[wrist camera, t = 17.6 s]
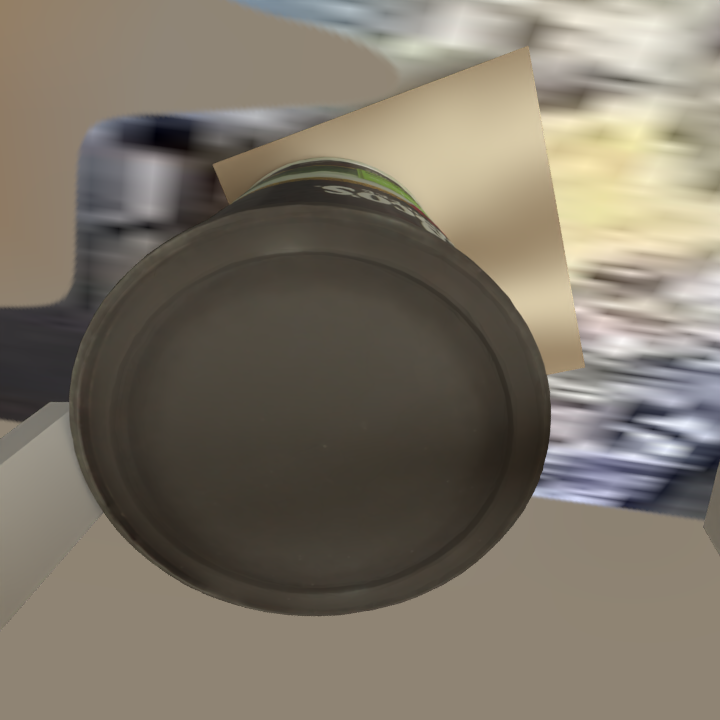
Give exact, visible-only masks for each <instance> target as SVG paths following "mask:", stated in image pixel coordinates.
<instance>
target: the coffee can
mask: <svg viewBox="0 0 720 720" xmlns="http://www.w3.org/2000/svg"><path fill="white" fill-rule="evenodd" d="M69 421H70V429H71V434H72V439H73V444H74V450H75V453H76V457H77V460H78V463H79V466H80V470H81V472H82V474H83V477H84V479H85V481H86V483H87V485H88V487H89V489H90V491H91V493H92V495H93V496H94V498H95V500H96V501H97V503H98V505H99V506H100V508H101V509H102V511H103V512H104V513H105V515H106V516H107V518H108V519H109V521H110V522H111V523H112V524H113V526H114V527H115V528H116V530H117V531H118V532H119V533H120V534H121V535H122V536H123V537H124V538H125V539H126V540H127V541H128V542H129V543H130V544H131V545H132V546H133V547H134V548H135V549H136V550H137V551H138V552H139V553H141V554H142V555H143V556H145V557H146V558H147V559H148V560H149V561H150V562H152V563H153V564H155V565H156V566H158V567H159V568H160V569H162V570H163V571H164V572H166V573H167V574H168V575H170V576H172V577H174V578H175V579H177V580H179V581H180V582H181V583H183V584H185V585H187V586H189V587H191V588H193V589H195V590H198V591H200V592H202V593H203V594H206V595H209V596H211V597H214V598H216V599H219V600H222V601H225V602H228V603H231V604H235V605H238V606H242V607H245V608H249V609H254V610H258V611H263V612H269V613H277V614H284V615H298V616H328V615H329V616H331V615H344V614H351V613H357V612H362V611H370V610H375V609H378V608H383V607H387V606H390V605H395V604H398V603H402V602H405V601H407V600H410V599H413V598H415V597H418V596H420V595H422V594H425V593H427V592H429V591H431V590H433V589H435V588H437V587H439V586H442V585H444V584H445V583H447V582H448V581H450V580H452V579H453V578H455V577H457V576H458V575H460V574H461V573H463V572H464V571H466V570H467V569H468V568H469V567H471V566H472V565H473V564H475V563H476V562H477V561H478V560H479V559H481V558H482V557H483V556H484V555H485V554H486V553H487V552H488V551H489V550H490V549H491V548H493V547H494V546H495V544H496V543H498V541H500V540H501V538H502V537H503V536H504V535H505V534H506V533H507V531H509V529H510V528H511V527H512V526H513V525H514V523H515V522H516V520H517V519H518V518H519V516H520V515H521V514H522V512H523V511H524V509H525V507H526V505H527V503H528V502H529V500H530V498H531V496H532V495H533V493H534V491H535V488H536V486H537V484H538V482H539V479H540V475H541V473H542V471H543V465H544V462H545V458H546V454H547V450H548V444H549V436H550V425H551V403H550V390H549V384H548V379H547V374H546V370H545V365H544V362H543V359H542V356H541V353H540V351H539V348H538V346H537V344H536V342H535V339H534V337H533V335H532V333H531V331H530V329H529V327H528V325H527V324H526V322H525V321H524V319H523V317H522V316H521V314H520V313H519V312H518V310H517V309H516V308H515V306H514V305H513V303H512V301H511V300H510V298H509V297H508V296H507V295H506V293H505V292H504V291H503V290H502V289H501V288H500V287H499V286H498V285H497V284H496V283H495V281H494V280H493V279H492V278H491V277H490V276H489V275H488V274H487V273H486V272H484V271H483V270H482V269H481V268H480V267H479V266H478V265H477V264H476V263H475V262H474V261H472V260H471V259H470V258H469V257H468V256H466V255H465V254H464V253H462V252H461V251H459V250H458V249H456V247H455V246H454V245H453V244H452V243H451V242H450V240H449V239H448V238H447V237H446V235H445V234H444V233H443V232H442V231H441V230H440V229H439V228H438V227H437V226H436V225H435V223H434V222H433V221H432V220H431V219H430V218H429V217H428V215H427V214H426V213H425V211H424V210H423V208H422V206H421V205H420V204H419V202H418V201H417V200H416V198H415V197H414V196H413V195H412V193H411V192H410V191H409V190H408V189H407V188H405V187H404V186H403V185H402V184H401V183H400V182H398V181H397V180H396V179H394V178H393V177H392V176H390V175H388V174H386V173H385V172H383V171H381V170H379V169H377V168H375V167H372V166H370V165H367V164H365V163H362V162H358V161H355V160H350V159H344V158H334V157H318V158H310V159H305V160H300V161H296V162H293V163H289V164H287V165H285V166H283V167H280V168H278V169H276V170H274V171H272V172H271V173H269V174H267V175H266V176H264V177H263V178H261V179H260V180H259V181H258V182H256V183H255V184H254V185H253V186H252V187H251V188H250V189H249V190H248V191H247V192H245V193H244V194H242V195H241V196H240V197H239V198H238V199H237V200H235V201H234V202H232V203H231V204H230V205H228V206H227V207H225V208H224V209H222V210H221V211H220V212H218V213H217V214H215V215H214V216H212V217H211V218H210V219H208V220H207V221H205V222H202V223H200V224H198V225H196V226H194V227H191V228H190V229H188V230H186V231H184V232H182V233H180V234H178V235H177V236H175V237H173V238H172V239H170V240H168V241H167V242H165V243H164V244H162V245H161V246H159V247H158V248H156V249H155V250H153V251H152V252H150V253H149V254H147V255H146V256H145V257H144V258H143V259H142V260H141V261H140V262H139V263H138V264H136V265H135V266H134V267H133V268H132V269H131V270H130V271H129V272H128V273H127V274H126V275H125V276H124V277H123V278H122V279H121V280H120V281H119V282H118V283H117V285H116V286H115V287H114V288H113V289H112V290H111V292H110V293H109V294H108V295H107V296H106V298H105V299H104V300H103V302H102V304H101V305H100V307H99V308H98V310H97V311H96V313H95V315H94V316H93V318H92V320H91V322H90V324H89V326H88V328H87V330H86V332H85V334H84V337H83V339H82V341H81V343H80V346H79V349H78V353H77V356H76V359H75V363H74V367H73V371H72V378H71V385H70V393H69Z"/></svg>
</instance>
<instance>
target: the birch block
mask: <svg viewBox="0 0 720 720" xmlns="http://www.w3.org/2000/svg"><path fill="white" fill-rule="evenodd" d="M318 157H334V158H344V159H350V160H355V161H358V162H362V163H365V164H367V165H370V166H372V167H375V168H377V169H379V170H381V171H383V172H385V173H386V174H388V175H390V176H392V177H393V178H394V179H396V180H397V181H398V182H400V183H401V184H402V185H403V186H404V187H405V188H407V189H408V190H409V191H410V192H411V193H412V195H413V196H414V197H415V198H416V200H417V201H418V202H419V204H420V205H421V206H422V208H423V210H424V211H425V213H426V214H427V215H428V217H429V218H430V219H431V220H432V221H433V222H434V223H435V225H436V226H437V227H438V228H439V229H440V230H441V231H442V232H443V233H444V234H445V235H446V237H447V238H448V239H449V240H450V242H451V243H452V244H453V245H454V246H455V247H456V249H458V250H459V251H461V252H462V253H464V254H465V255H466V256H468V257H469V258H470V259H471V260H472V261H474V262H475V263H476V264H477V265H478V266H479V267H480V268H481V269H482V270H483V271H484V272H486V273H487V274H488V275H489V276H490V277H491V278H492V279H493V280H494V281H495V283H496V284H497V285H498V286H499V287H500V288H501V289H502V290H503V291H504V292H505V293H506V295H507V296H508V297H509V298H510V300H511V301H512V303H513V305H514V306H515V308H516V309H517V310H518V312H519V313H520V314H521V316H522V317H523V319H524V321H525V322H526V324H527V325H528V327H529V329H530V331H531V333H532V335H533V337H534V339H535V342H536V344H537V346H538V348H539V351H540V353H541V356H542V359H543V362H544V365H545V370H546V374H547V375H549V374H554V373H559V372H564V371H569V370H574V369H579V368H584V367H585V364H584V359H583V353H582V347H581V342H580V336H579V330H578V325H577V319H576V313H575V308H574V302H573V296H572V291H571V285H570V279H569V274H568V268H567V262H566V257H565V251H564V245H563V240H562V234H561V228H560V223H559V217H558V212H557V206H556V200H555V195H554V189H553V183H552V178H551V172H550V166H549V161H548V155H547V149H546V144H545V138H544V132H543V127H542V121H541V115H540V110H539V104H538V98H537V93H536V87H535V81H534V76H533V70H532V64H531V59H530V53H529V47H528V46H526V47H524V48H521V49H518V50H516V51H513V52H510V53H508V54H505V55H502V56H500V57H497V58H494V59H492V60H489V61H486V62H484V63H481V64H478V65H476V66H473V67H470V68H468V69H465V70H462V71H460V72H457V73H454V74H452V75H449V76H446V77H444V78H441V79H438V80H436V81H433V82H430V83H428V84H425V85H422V86H420V87H417V88H414V89H412V90H409V91H406V92H404V93H401V94H398V95H396V96H393V97H390V98H388V99H385V100H382V101H380V102H377V103H374V104H372V105H369V106H367V107H364V108H361V109H359V110H356V111H353V112H351V113H348V114H345V115H343V116H340V117H337V118H335V119H332V120H329V121H327V122H324V123H321V124H319V125H316V126H313V127H311V128H308V129H305V130H303V131H300V132H297V133H295V134H292V135H289V136H287V137H284V138H281V139H279V140H276V141H273V142H271V143H268V144H265V145H263V146H260V147H257V148H255V149H252V150H249V151H247V152H244V153H241V154H239V155H236V156H233V157H231V158H228V159H225V160H223V161H220V162H217V163H215V164H213V167H214V169H215V171H216V174H217V176H218V179H219V181H220V184H221V186H222V188H223V191H224V193H225V196H226V198H227V201H228V203H229V205H230V204H231V203H232V202H234V201H235V200H237V199H238V198H239V197H240V196H241V195H242V194H244V193H245V192H247V191H248V190H249V189H250V188H251V187H252V186H253V185H254V184H255V183H256V182H258V181H259V180H260V179H261V178H263V177H264V176H266V175H267V174H269V173H271V172H272V171H274V170H276V169H278V168H280V167H283V166H285V165H287V164H289V163H293V162H296V161H300V160H305V159H310V158H318Z"/></svg>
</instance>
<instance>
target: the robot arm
mask: <svg viewBox="0 0 720 720" xmlns="http://www.w3.org/2000/svg"><path fill="white" fill-rule="evenodd" d="M102 514H103V511H102V509H101V508H100V506H99V505H98V503H97V501H96V500H95V498H94V496H93V495H92V493H91V491H90V489H89V487H88V485H87V483H86V481H85V479H84V477H83V474H82V472H81V470H80V466H79V463H78V460H77V457H76V453H75V450H74V444H73V439H72V434H71V429H70V421H69V402H50V403H48V404H47V405H46V406H44V407H43V408H41V409H40V410H39V411H37V412H36V413H35V414H33V415H32V416H31V417H29V418H28V419H26V420H25V421H24V422H22V423H21V424H20V425H18V426H17V427H16V428H14V429H13V430H11V431H10V432H9V433H7V434H6V435H5V436H3V437H2V438H0V631H1V630H2V629H3V628H4V627H5V625H6V624H7V623H8V622H9V621H10V620H11V618H12V617H13V616H14V615H15V614H16V613H17V612H18V610H19V609H20V608H21V607H22V606H23V605H24V603H25V602H26V601H27V600H28V599H29V598H30V597H31V595H32V594H33V593H34V592H35V591H36V590H37V588H38V587H39V586H40V585H41V584H42V583H43V582H44V580H45V579H46V578H47V577H48V576H49V575H50V574H51V572H52V571H53V570H54V569H55V568H56V566H57V565H58V564H59V563H60V562H61V561H62V560H63V559H64V557H65V556H66V555H67V554H68V553H69V552H70V550H71V549H72V548H73V547H74V546H75V545H76V544H77V542H78V541H79V540H80V539H81V538H82V537H83V535H84V534H85V533H86V532H87V531H88V530H89V528H90V527H91V526H92V525H93V524H94V523H95V522H96V521H97V519H98V518H99V517H100V516H101V515H102ZM703 527H704V529H705V531H706V533H707V535H708V536H709V538H710V540H711V541H712V543H713V545H714V547H715V548H716V550H717V552H718V554H719V555H720V462H719V466H718V470H717V474H716V478H715V482H714V486H713V490H712V494H711V498H710V502H709V506H708V510H707V514H706V518H705V522H704V526H703Z"/></svg>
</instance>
